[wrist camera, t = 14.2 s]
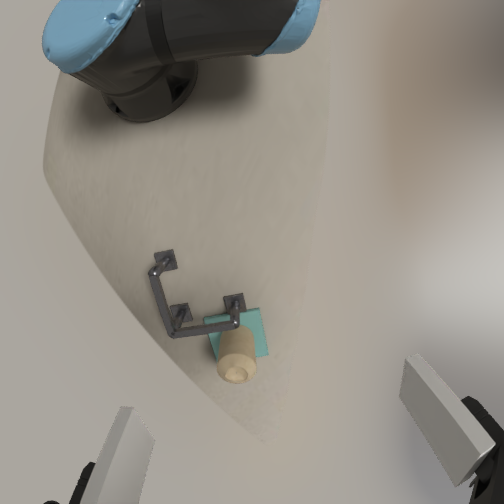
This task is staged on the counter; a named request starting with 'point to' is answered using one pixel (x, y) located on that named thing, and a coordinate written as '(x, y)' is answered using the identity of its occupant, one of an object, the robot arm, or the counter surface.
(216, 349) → the pad
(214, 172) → the counter surface
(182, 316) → the handrail
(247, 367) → the candle
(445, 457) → the robot arm
